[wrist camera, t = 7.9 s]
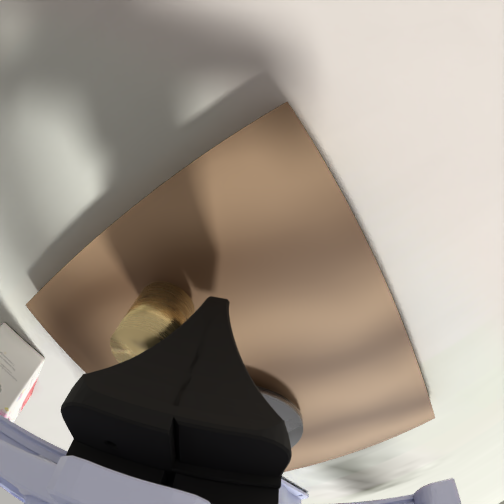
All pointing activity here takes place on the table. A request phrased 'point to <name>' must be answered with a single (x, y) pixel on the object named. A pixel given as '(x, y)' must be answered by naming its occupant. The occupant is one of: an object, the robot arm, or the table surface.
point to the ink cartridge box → (16, 372)
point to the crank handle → (167, 321)
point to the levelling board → (259, 286)
